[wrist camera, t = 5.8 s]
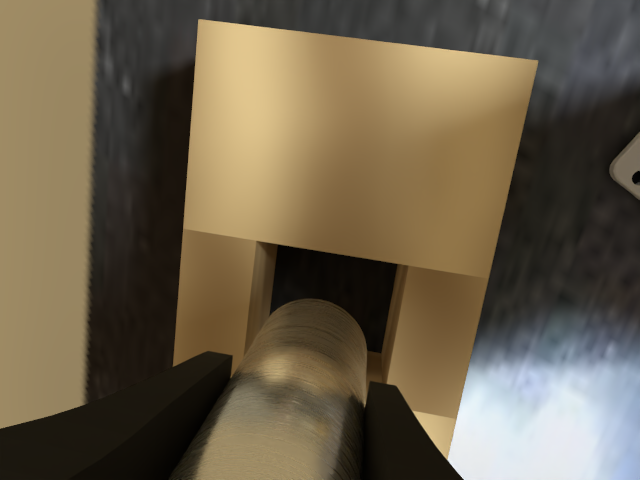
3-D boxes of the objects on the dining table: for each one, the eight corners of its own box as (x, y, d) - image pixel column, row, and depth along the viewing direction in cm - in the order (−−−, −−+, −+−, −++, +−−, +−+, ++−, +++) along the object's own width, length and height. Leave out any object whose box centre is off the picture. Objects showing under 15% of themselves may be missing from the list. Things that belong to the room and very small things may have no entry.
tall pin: (389, 343, 13) (411, 633, 5) (323, 420, 14) (257, 773, 6) (299, 276, 13) (189, 472, 5) (238, 357, 14) (59, 633, 6)
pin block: (501, 79, 17) (538, 60, 13) (429, 416, 20) (442, 482, 16) (237, 46, 18) (198, 19, 14) (207, 373, 21) (168, 426, 17)
